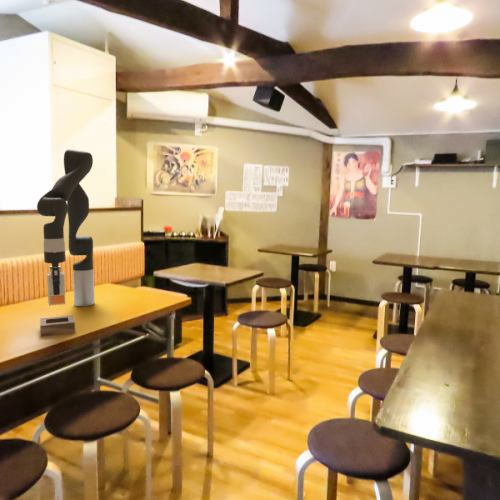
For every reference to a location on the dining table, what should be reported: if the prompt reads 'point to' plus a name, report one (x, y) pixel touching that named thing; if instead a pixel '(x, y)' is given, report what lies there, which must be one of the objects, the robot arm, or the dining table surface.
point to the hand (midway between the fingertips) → (56, 293)
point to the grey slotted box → (57, 325)
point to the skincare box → (51, 297)
